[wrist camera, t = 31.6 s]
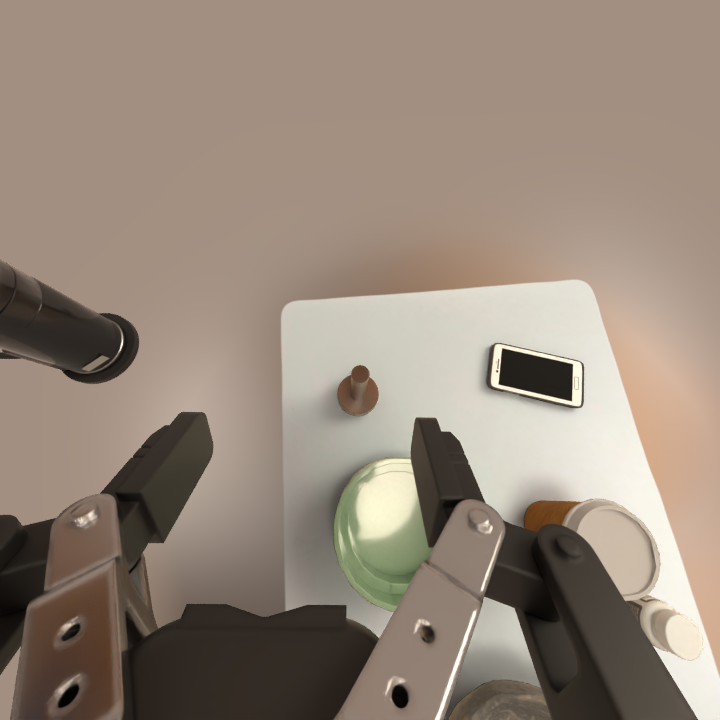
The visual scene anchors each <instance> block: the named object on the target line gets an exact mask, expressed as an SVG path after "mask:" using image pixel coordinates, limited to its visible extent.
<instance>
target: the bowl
mask: <svg viewBox="0 0 720 720" xmlns="http://www.w3.org/2000/svg"><path fill="white" fill-rule="evenodd" d="M448 720H552V719H551V716H550V713H549V710H548V707H547V704H546V701H545V698H544V695H543V692H542V689H541V688H538V687H535V686H533V685H530V684H528V683H524V682H518V681H512V680H493V681H491V682H487V683H484V684H482V685H481V686H480V687H478V688H477V689H475V690H474V691H472V692H471V693H470V694H468V695H467V696H466V697H465V698H463V699H462V700H461V701H460V702H459V703H458V704H457V705H456V707H455V708H454V710H453V712H452V714H451V716H450V718H449V719H448Z"/></svg>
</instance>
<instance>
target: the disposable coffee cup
mask: <svg viewBox="0 0 720 720" xmlns="http://www.w3.org/2000/svg"><path fill="white" fill-rule="evenodd" d="M546 524H559V525H562V526H565V527H567V528H570V529H571V530H573V531H575V532H576V533H578V534H579V535H580V536H582V537H583V538H584V539H585V540H586V541H587V542H588V543H589V544H590V545H591V547H592V548H593V549H594V551H595V553H596V554H597V556H598V557H599V559H600V561H601V562H602V564H603V566H604V567H605V569H606V570H607V572H608V574H609V575H610V577H611V579H612V580H613V582H614V584H615V585H616V587H617V588H618V590H619V592H620V593H621V595H622V597H623V598H624V600H625V601H631V600H638V599H640V598H642V597H644V596H646V595H647V594H649V593H650V591H651V590H652V589H653V588H654V587H655V584H656V582H657V580H658V576H659V570H660V557H659V552H658V548H657V545H656V542H655V540H654V538H653V536H652V534H651V533H650V531H649V530H648V528H647V527H646V526H645V524H644V523H643V522H642V521H641V520H640V519H638V518H637V517H636V516H635V515H634V514H632V513H631V512H629V511H628V510H627V509H625V508H624V507H623V506H621V505H619V504H617V503H615V502H612V501H609V500H605V499H590V500H586V501H583V502H570V501H568V502H567V501H537V502H535V503H533V504H531V505H530V506H529V508H528V509H527V511H526V513H525V517H524V526H525V529H528V530H531V531H534V532H538V531H539V530H540V528H541V527H542V526H544V525H546Z"/></svg>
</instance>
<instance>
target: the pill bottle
mask: <svg viewBox="0 0 720 720" xmlns="http://www.w3.org/2000/svg"><path fill="white" fill-rule="evenodd" d="M626 603H627V605H628V606H629V608H630V610H631V611H632V613H633V615H634V616H635V618H636V619H637V621H638V623H639V624H640V626H641V628H642V629H643V631H644V632H645V634H646V636H647V637H648V639H649V641H650V642H651V644H652V645H653V646H655V647H657V648H658V649H661V650H663V651H667V652H671V653H673V654H675V655H676V656H678V657H680V658H682V659H684V660H689V661H691V660H695V659H697V658H698V657H699V656H700V655H701V653H702V650H703V638H702V635H701V633H700V630H699V629H698V627H697V626H696V624H695V623H694V622H693V621H692V620H690V619H689V618H688V617H686V616H684V615H682V614H680V613H678V612H676V611H675V610H674V609H673V608H672V607H671V606H669V605H668V604H666V603H665V602H663V601H660V600H658V599H656V598H654V597H651V596H649V595H646V596H644V597H642V598H640V599H638V600H631V601H626Z"/></svg>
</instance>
